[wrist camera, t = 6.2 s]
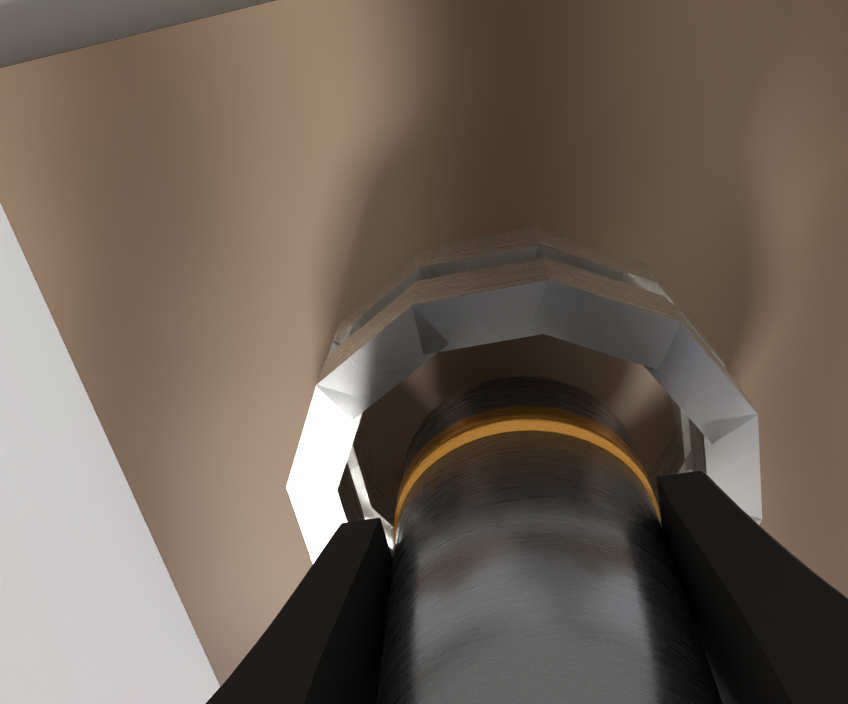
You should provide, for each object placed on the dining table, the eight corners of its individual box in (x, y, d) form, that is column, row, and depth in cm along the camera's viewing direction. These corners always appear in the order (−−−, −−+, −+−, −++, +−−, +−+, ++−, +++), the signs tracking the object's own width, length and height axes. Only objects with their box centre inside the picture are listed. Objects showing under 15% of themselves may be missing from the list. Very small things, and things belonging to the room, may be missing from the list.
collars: (699, 194, 13) (750, 242, 10) (723, 545, 16) (767, 644, 14) (273, 276, 14) (233, 337, 12) (373, 592, 17) (357, 690, 15)
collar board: (961, -167, 11) (1005, -179, 10) (912, 637, 18) (935, 672, 17) (-21, 74, 14) (-55, 81, 13) (257, 711, 20) (247, 745, 19)
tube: (641, 363, 12) (886, 923, 5) (638, 562, 14) (816, 1175, 7) (386, 383, 13) (287, 930, 6) (415, 574, 15) (369, 1168, 7)
